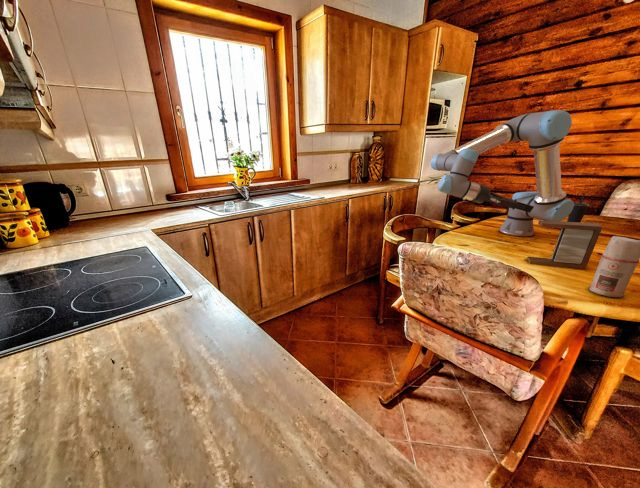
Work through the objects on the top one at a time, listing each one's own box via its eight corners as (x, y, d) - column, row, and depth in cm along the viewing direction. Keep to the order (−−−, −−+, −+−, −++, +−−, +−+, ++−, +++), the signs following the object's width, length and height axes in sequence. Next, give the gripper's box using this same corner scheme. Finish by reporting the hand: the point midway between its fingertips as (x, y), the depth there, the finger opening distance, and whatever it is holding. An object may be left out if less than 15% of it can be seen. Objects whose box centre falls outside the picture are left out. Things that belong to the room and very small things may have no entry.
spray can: (580, 287, 100) (602, 234, 92) (601, 286, 100) (625, 233, 92) (607, 299, 92) (634, 242, 84) (630, 297, 92) (658, 240, 84)
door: (550, 258, 120) (562, 226, 114) (578, 260, 116) (591, 227, 110) (552, 259, 119) (563, 227, 113) (580, 262, 115) (593, 228, 109)
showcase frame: (526, 259, 124) (538, 220, 117) (580, 264, 117) (596, 223, 110) (529, 263, 120) (542, 223, 113) (585, 269, 113) (603, 226, 106)
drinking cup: (573, 225, 165) (585, 191, 157) (584, 229, 158) (598, 194, 150) (559, 226, 166) (570, 192, 158) (569, 229, 159) (582, 194, 151)
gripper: (467, 197, 130) (519, 212, 127) (475, 204, 119) (532, 222, 116) (476, 181, 126) (530, 197, 123) (485, 188, 115) (544, 205, 112)
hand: (531, 209), depth 119 cm, fingers closed
